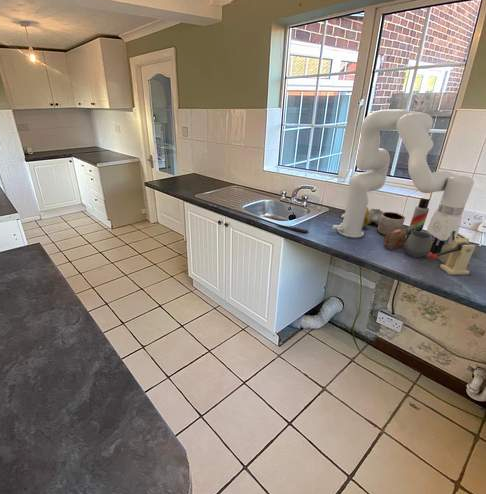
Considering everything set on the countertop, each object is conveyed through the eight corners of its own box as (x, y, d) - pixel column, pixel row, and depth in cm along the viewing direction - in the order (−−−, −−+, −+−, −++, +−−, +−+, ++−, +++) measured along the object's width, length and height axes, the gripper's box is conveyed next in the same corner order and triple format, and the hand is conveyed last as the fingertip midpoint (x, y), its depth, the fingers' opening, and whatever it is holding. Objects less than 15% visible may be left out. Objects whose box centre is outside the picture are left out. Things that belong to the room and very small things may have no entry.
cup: (411, 260, 135) (418, 239, 130) (398, 250, 143) (404, 230, 139) (431, 258, 136) (439, 238, 131) (416, 249, 144) (423, 229, 140)
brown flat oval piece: (386, 251, 142) (391, 235, 138) (380, 248, 145) (384, 232, 141) (406, 244, 148) (411, 228, 145) (400, 241, 151) (405, 226, 147)
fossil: (374, 207, 184) (394, 201, 169) (380, 224, 183) (400, 220, 169) (350, 215, 180) (368, 210, 165) (356, 233, 179) (375, 229, 165)
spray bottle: (405, 235, 157) (417, 198, 148) (408, 232, 161) (420, 195, 152) (418, 238, 154) (431, 201, 145) (420, 235, 158) (433, 198, 149)
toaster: (445, 264, 132) (455, 239, 126) (427, 251, 142) (435, 227, 137) (459, 264, 132) (469, 239, 126) (439, 251, 142) (448, 227, 137)
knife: (277, 224, 170) (275, 226, 168) (278, 223, 170) (275, 224, 168) (307, 231, 162) (305, 233, 160) (308, 230, 162) (306, 232, 159)
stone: (371, 222, 168) (369, 229, 161) (351, 224, 174) (348, 231, 166) (368, 200, 164) (367, 206, 156) (348, 202, 170) (345, 209, 162)
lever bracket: (449, 274, 124) (461, 246, 119) (439, 266, 130) (450, 239, 124) (469, 274, 125) (481, 246, 119) (458, 266, 130) (469, 239, 124)
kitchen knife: (351, 209, 191) (347, 209, 192) (351, 208, 191) (348, 207, 192) (342, 218, 178) (339, 217, 179) (343, 217, 178) (339, 216, 179)
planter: (395, 229, 165) (400, 212, 161) (403, 237, 155) (409, 220, 151) (374, 227, 166) (378, 211, 162) (381, 236, 157) (385, 218, 152)
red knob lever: (431, 262, 123) (431, 255, 122) (426, 258, 126) (425, 251, 125) (470, 251, 121) (470, 244, 120) (464, 247, 124) (464, 240, 123)
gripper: (427, 203, 121) (414, 244, 129) (455, 216, 108) (438, 261, 116) (446, 202, 121) (431, 244, 130) (476, 216, 108) (457, 261, 116)
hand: (434, 252), depth 123 cm, fingers closed
